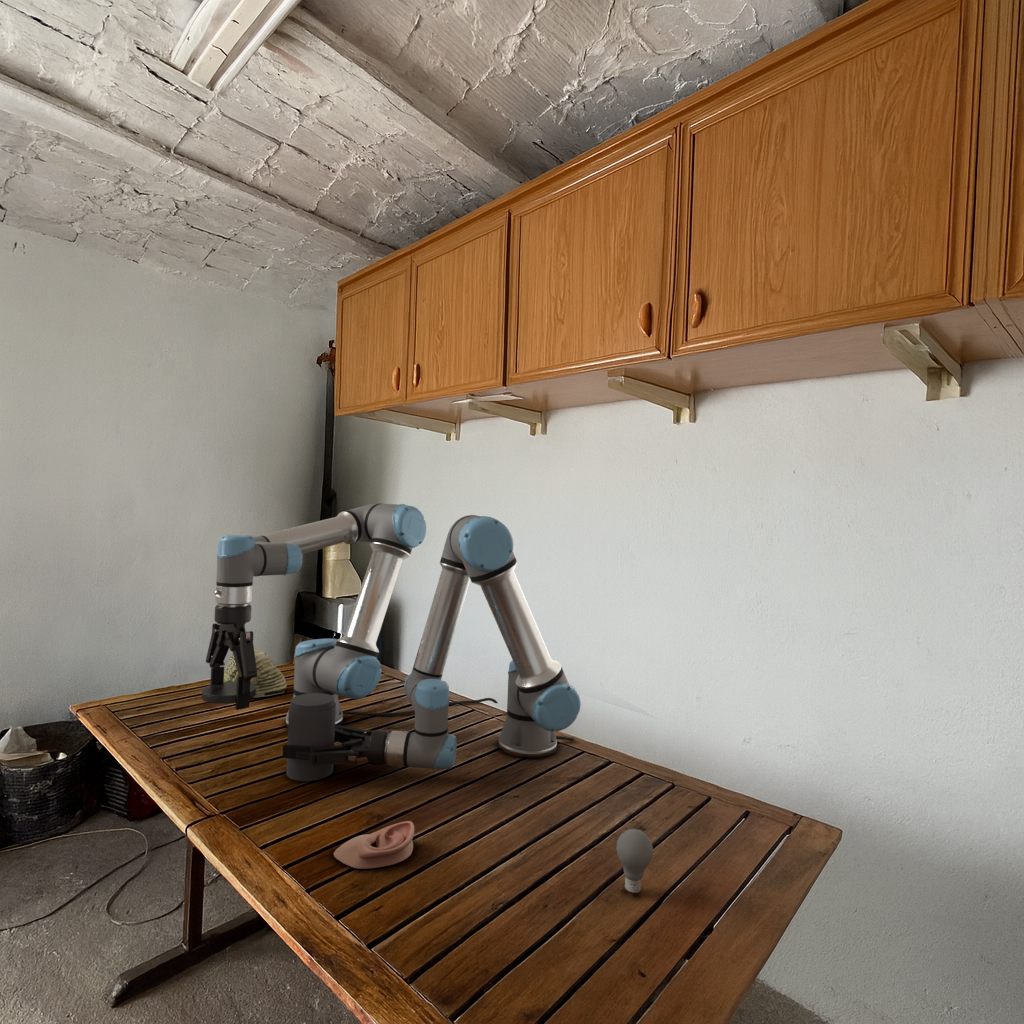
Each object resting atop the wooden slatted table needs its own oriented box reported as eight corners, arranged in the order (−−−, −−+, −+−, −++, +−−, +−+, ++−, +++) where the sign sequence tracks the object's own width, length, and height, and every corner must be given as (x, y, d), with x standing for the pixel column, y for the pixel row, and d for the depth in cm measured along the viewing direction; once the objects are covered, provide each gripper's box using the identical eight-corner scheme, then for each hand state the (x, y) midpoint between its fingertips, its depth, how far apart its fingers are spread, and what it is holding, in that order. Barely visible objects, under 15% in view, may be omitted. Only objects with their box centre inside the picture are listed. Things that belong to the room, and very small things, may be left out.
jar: (277, 770, 145) (280, 698, 145) (318, 758, 153) (320, 689, 153) (301, 785, 138) (304, 709, 138) (342, 772, 146) (344, 700, 146)
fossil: (218, 695, 195) (220, 647, 195) (278, 685, 208) (279, 640, 207) (228, 703, 189) (230, 653, 188) (289, 692, 201) (290, 645, 201)
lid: (266, 695, 143) (266, 687, 143) (221, 707, 134) (221, 699, 134) (236, 685, 149) (236, 678, 149) (191, 696, 140) (191, 688, 140)
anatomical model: (325, 840, 109) (355, 809, 121) (324, 863, 109) (354, 830, 121) (398, 852, 107) (421, 819, 118) (397, 876, 107) (420, 840, 118)
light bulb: (610, 879, 108) (613, 822, 108) (644, 879, 109) (647, 822, 109) (619, 902, 102) (622, 840, 102) (655, 901, 103) (658, 840, 103)
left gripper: (192, 598, 146) (188, 693, 146) (244, 613, 131) (239, 718, 131) (224, 596, 152) (220, 687, 152) (277, 610, 137) (272, 710, 137)
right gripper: (373, 786, 133) (271, 779, 134) (399, 745, 156) (311, 739, 157) (375, 751, 133) (272, 744, 134) (400, 714, 156) (312, 709, 157)
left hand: (229, 702), depth 142 cm, fingers closed on lid, 11 cm apart
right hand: (293, 741), depth 146 cm, fingers closed on jar, 10 cm apart
